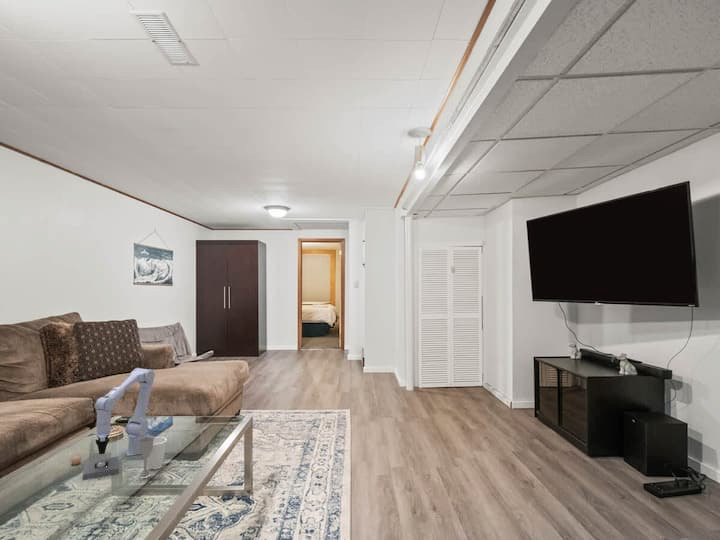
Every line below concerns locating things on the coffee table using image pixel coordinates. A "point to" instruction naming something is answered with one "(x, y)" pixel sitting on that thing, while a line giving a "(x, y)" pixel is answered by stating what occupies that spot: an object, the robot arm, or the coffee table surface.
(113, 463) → the grey square frame
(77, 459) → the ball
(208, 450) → the coffee table surface
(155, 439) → the foam cup
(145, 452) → the chalice
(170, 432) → the coffee table surface
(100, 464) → the steel ball
